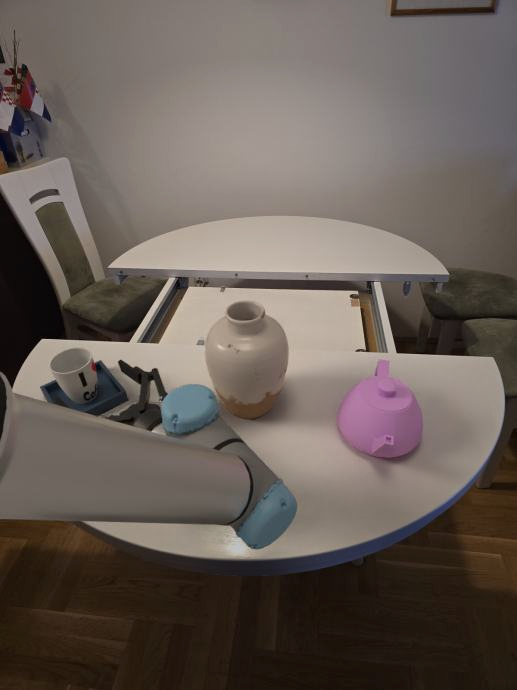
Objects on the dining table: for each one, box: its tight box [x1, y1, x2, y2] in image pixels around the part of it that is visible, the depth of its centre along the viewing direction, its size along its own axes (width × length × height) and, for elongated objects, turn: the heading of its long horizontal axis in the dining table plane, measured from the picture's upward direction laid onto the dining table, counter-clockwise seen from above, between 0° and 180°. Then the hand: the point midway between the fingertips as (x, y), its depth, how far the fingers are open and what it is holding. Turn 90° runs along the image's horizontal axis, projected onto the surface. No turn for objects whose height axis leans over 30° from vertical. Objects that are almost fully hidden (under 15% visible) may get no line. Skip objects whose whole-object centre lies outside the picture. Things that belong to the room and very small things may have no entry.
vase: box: [204, 300, 290, 420], centre depth 78 cm, size 16×16×23 cm
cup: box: [48, 347, 98, 404], centre depth 83 cm, size 8×8×10 cm
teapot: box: [336, 358, 424, 459], centre depth 74 cm, size 22×16×12 cm
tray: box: [39, 359, 130, 417], centre depth 86 cm, size 14×14×3 cm
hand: (90, 383), depth 78 cm, fingers open, 13 cm apart
